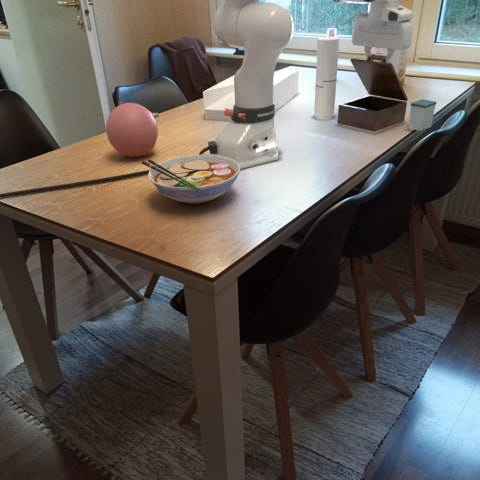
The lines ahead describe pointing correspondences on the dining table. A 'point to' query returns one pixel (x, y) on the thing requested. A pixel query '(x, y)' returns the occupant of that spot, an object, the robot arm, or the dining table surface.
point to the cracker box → (396, 61)
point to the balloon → (132, 129)
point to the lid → (379, 78)
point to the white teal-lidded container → (421, 114)
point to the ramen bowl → (194, 177)
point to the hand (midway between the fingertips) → (377, 63)
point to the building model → (225, 94)
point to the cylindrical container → (326, 76)
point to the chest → (372, 113)
